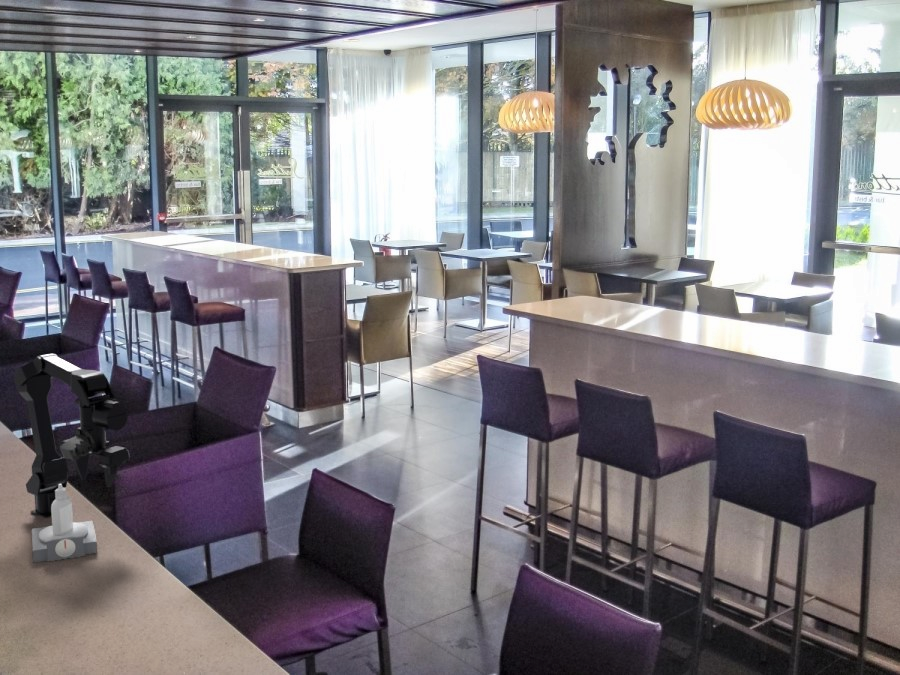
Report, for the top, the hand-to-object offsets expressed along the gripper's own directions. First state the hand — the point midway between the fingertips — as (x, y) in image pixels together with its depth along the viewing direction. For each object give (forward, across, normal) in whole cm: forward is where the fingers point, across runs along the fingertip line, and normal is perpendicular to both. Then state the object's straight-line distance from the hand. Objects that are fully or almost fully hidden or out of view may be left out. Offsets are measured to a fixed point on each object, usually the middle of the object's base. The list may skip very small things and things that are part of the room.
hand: (96, 483), depth 233 cm
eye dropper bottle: (+9, 0, -11) cm, 14 cm away
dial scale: (+13, 0, -10) cm, 17 cm away
